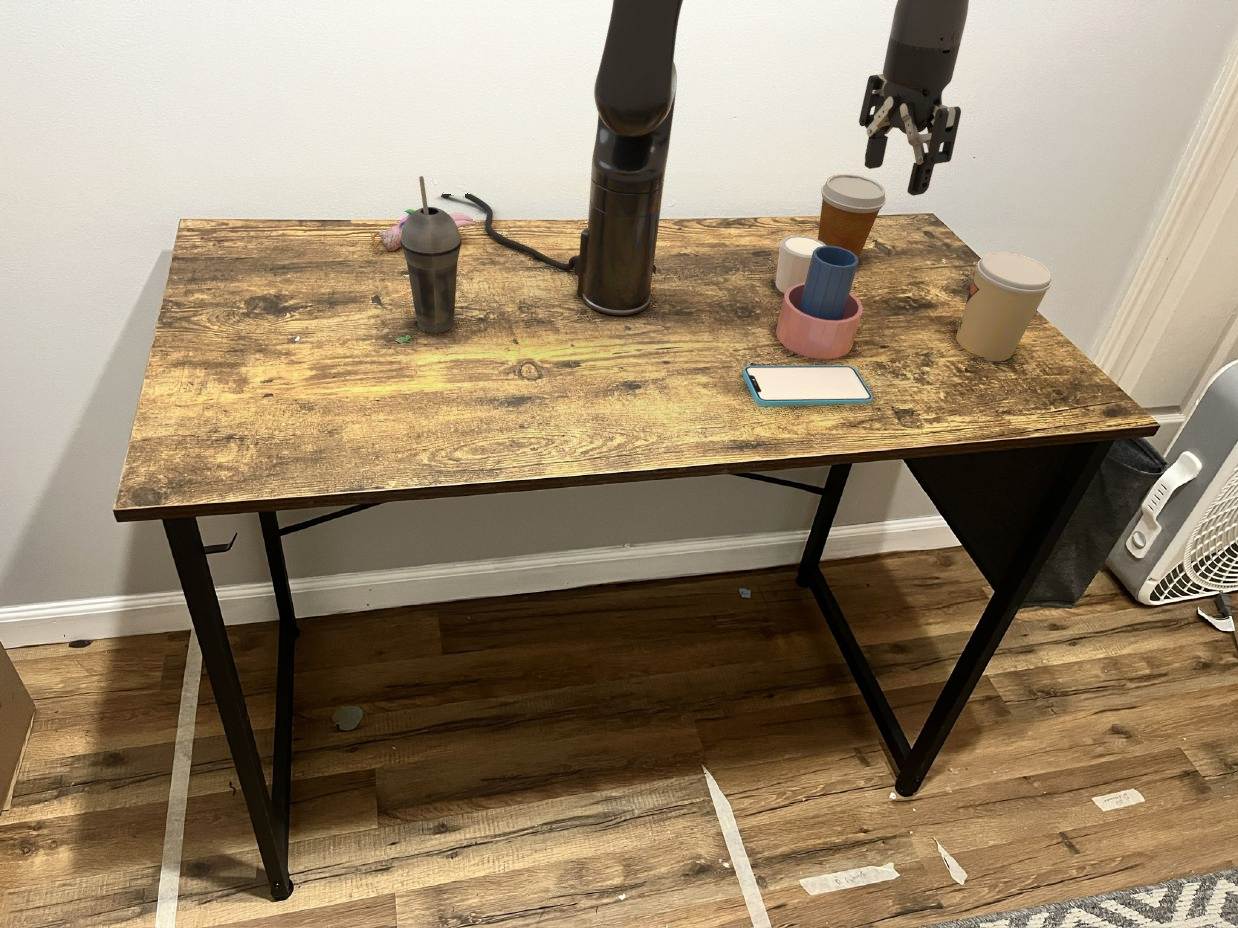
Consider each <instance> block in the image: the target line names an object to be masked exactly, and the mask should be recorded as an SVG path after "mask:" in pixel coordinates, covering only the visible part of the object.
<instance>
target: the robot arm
mask: <svg viewBox="0 0 1238 928" xmlns="http://www.w3.org/2000/svg"><path fill="white" fill-rule="evenodd" d="M969 2H970V0H897V2H896V4H895V8H894V13H893V17H892V22H891V28H890V32H889V37H888V43H887V48H886V53H885V58H884V63H883V68H882V73H879V74H872V75H869V76H868V78H867V83H866V88H865V92H864V95H863V101H862V106H861V109H860V114H859V119H858V123H859V126H860V127H864V128H865V129H866V136H867V137H868V138H867V143H866V149H865V154H864V167H865V168H867V169H869V170H872V169H877V168H881V167H882V166H883V164H884V160H885V159H884V158H885V154H886V150H887V145H888V144H887V143H888V140H889V136H887V135H888V134H889V133H890V132H891V131H892V129H893V128H894V129H898V130H900V131H901V133H903V134H905V135H906V138H907V143H908V144H909V145H910V146H911V147H912V149H913V155H914V160H915V162H913V163H912V169H911V173H910V177H909V182H908V186H907V193H908V195H910V196H911V197H912V196H913V197H914V196H920V195H924V194H925V193H926V191H927V192H928V189H929V188H930V184H931V179H932V175H933V171H934V167H935V165H938V164H942V163H943V164H944V163H949V162H951V160H952V158H953V153H954V148H955V143H956V138H957V135H958V129H959V124H960V120H961V115H962V109H961V107H960V106H947V105H944V104H943V100H942V99H943V91H944V90H945V89H946V87H947V86H948V85H949V84H950V83H951V82H952V80H953V76H954V72H955V69H956V68H955V67H956V64H957V60H958V56H959V51H960V47H961V42H962V39H963V34H964V30H965V27H966V23H967V17H968V12H969V4H970V3H969ZM683 3H684V0H612V7H611V12H610V13H611V14H610V19H609V23H608V24H609V25H608V28H607V33H606V37H605V42H604V47H603V51H602V54H601V55H602V56H601V60H600V63H599V67H598V71H597V74H596V77H595V81H594V86H593V99H594V103H595V104H594V105H595V107H596V111H597V127H596V134H595V140H594V145H593V146H594V147H593V151H592V156H591V157H592V158H591V171H590V185H589V187H590V189H589V205H588V218H587V228H585V229H583V230H582V231H581V232H580V240H579V254H578V255H574V256H571V257H570V258H569V259H568V263H564V262H560V261H557V260H554V259H552V258H551V257H549V256H547V255H545V254H543V253H541V251H538V250H536V249H534V248H532V247H530V246H528V245H526V244H523V243H520V242H518V241H516V240H512V239H510V238H508V237H505V236H504V235H501V234H499V233H498V232H497V231H496V230H495V229H494V228H493V227H492V222H493V218H494V211H493V209H492V207H491V206H490V205H489V204H487V202H485V201H483V200H482V199H481V198H480V197H477V196H476V195H474V194H472V193H470V194H468V193H469V192H468V193H467V194H465V198H464V199H466V200H468V201H470V202H472V203H473V204H476V205H477V206H478V207H480V208H481V209H483V210H484V211H485V213H486V217H485V221H484V227H485V231H486V232H487V234H488V235H489V236H490V237H491V238H493V240H496V241H497V242H499V243H501V244H503V245H505V246H508V247H510V248H513V249H516V250H518V251H521V252H523V253H526V254H528V255H530V256H531V257H533V258H535V259H537V260H539V261H541V262H543V263H545V264H547V265H549V266H551V267H555V268H557V269H560V270H563V271H573V269H574V271H573V275H574V276H576V277H577V287H576V288H577V289H576V295H577V297H580V298H581V299H582V300H583V302H584V303H585V304H586V305H587V306H588V307H589V308H590V309H592V310H594V311H596V312H598V313H601V314H605V315H611V316H631V315H635V314H639V313H641V312H643V311H644V310H646V309H647V308H648V307H649V305H650V302H651V291H652V281H653V275H656V273H657V266H656V265H655V259H656V250H657V242H658V234H659V225H660V218H661V209H662V201H663V193H664V183H665V176H666V171H667V170H666V169H667V163H668V157H669V151H670V145H671V144H670V143H671V133H672V128H673V127H672V125H673V120H674V119H673V118H674V112H675V103H676V96H677V86H678V72H677V67H676V63H675V61H674V60H675V51H676V50H675V49H676V41H677V32H678V25H679V21H680V15H681V10H682V6H683ZM872 108H874V109H873V114H872V113H871V111H872ZM925 130H927V133H922V132H923V131H925ZM921 133H922V134H921ZM924 144H926V148H927V151H925V146H924ZM941 145H942V149H941ZM940 149H941V150H940ZM449 197H453V195H451V194H443V193H441V195H440V198H443V199H448V198H449Z"/></svg>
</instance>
